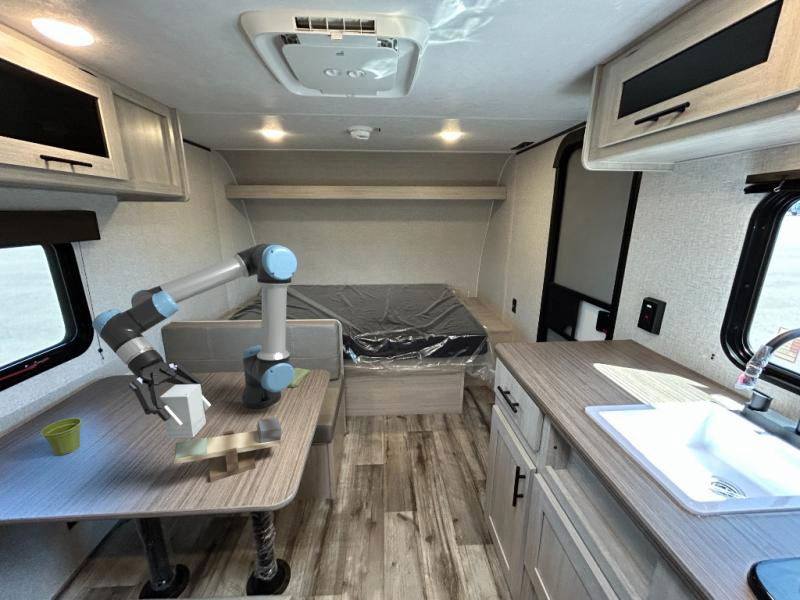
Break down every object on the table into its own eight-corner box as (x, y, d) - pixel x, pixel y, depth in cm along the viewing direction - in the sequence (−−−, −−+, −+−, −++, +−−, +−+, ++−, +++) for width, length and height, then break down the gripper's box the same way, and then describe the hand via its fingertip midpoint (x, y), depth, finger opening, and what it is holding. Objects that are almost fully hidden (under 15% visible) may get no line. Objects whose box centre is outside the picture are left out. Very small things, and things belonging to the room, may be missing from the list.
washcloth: (311, 372, 169) (311, 366, 168) (296, 389, 152) (295, 383, 151) (286, 371, 171) (286, 365, 170) (268, 387, 154) (268, 381, 153)
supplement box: (207, 422, 101) (201, 383, 98) (193, 438, 93) (187, 396, 91) (181, 423, 100) (175, 383, 97) (165, 438, 93) (158, 396, 90)
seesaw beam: (275, 431, 114) (276, 416, 113) (280, 445, 107) (281, 429, 107) (175, 447, 100) (176, 430, 99) (174, 464, 93) (174, 445, 92)
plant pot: (66, 460, 106) (60, 435, 104) (38, 458, 106) (31, 434, 105) (94, 441, 115) (89, 418, 113) (68, 440, 116) (62, 417, 114)
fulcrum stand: (250, 447, 113) (248, 425, 111) (255, 467, 103) (253, 444, 101) (209, 459, 107) (206, 436, 105) (210, 482, 97) (207, 457, 96)
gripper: (169, 351, 107) (217, 404, 106) (92, 381, 86) (151, 448, 86) (180, 336, 104) (229, 391, 104) (104, 364, 84) (165, 432, 83)
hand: (194, 417), depth 95 cm, fingers closed on supplement box, 9 cm apart
